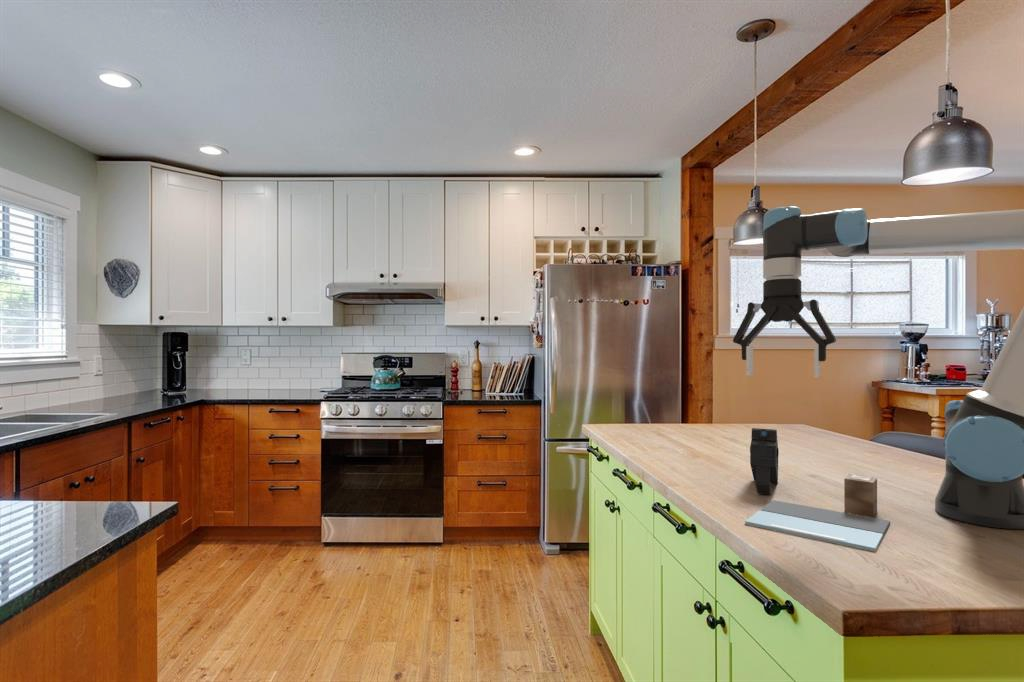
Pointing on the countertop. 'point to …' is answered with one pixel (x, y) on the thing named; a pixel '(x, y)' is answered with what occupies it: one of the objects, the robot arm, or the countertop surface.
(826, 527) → the mat
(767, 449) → the tool
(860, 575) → the countertop surface
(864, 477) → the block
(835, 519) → the mat
